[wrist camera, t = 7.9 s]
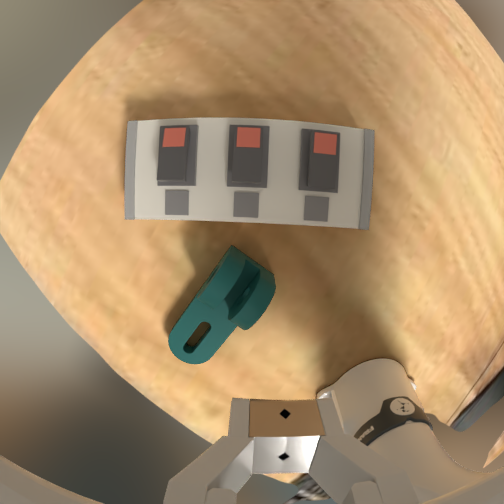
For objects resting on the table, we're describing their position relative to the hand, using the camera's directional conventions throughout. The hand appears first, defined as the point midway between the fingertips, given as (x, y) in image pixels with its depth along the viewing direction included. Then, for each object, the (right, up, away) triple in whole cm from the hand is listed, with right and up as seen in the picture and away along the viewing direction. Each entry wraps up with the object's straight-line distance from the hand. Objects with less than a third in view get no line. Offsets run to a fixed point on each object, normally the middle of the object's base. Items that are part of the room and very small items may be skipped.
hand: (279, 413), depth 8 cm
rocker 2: (-1, +15, +22) cm, 27 cm away
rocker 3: (+7, +15, +22) cm, 27 cm away
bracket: (-6, -3, +33) cm, 34 cm away
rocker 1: (-9, +15, +22) cm, 29 cm away
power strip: (-1, +15, +28) cm, 32 cm away
